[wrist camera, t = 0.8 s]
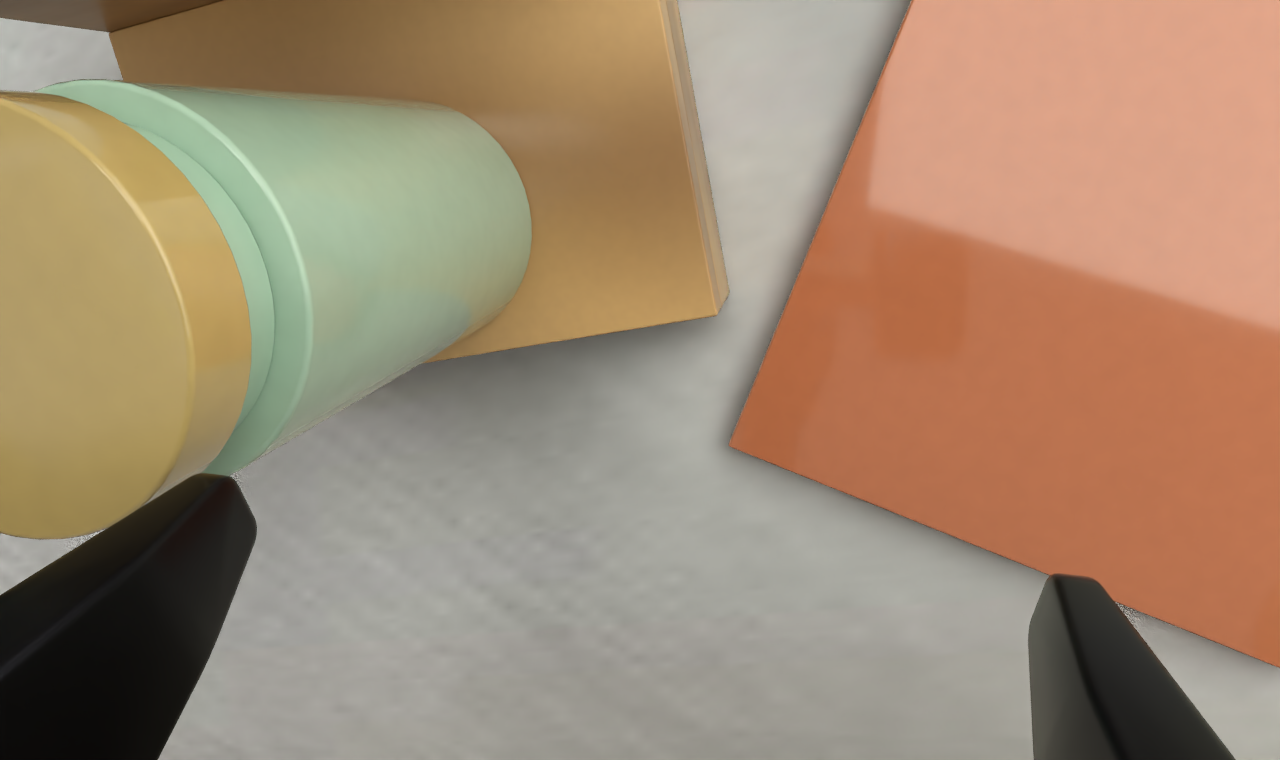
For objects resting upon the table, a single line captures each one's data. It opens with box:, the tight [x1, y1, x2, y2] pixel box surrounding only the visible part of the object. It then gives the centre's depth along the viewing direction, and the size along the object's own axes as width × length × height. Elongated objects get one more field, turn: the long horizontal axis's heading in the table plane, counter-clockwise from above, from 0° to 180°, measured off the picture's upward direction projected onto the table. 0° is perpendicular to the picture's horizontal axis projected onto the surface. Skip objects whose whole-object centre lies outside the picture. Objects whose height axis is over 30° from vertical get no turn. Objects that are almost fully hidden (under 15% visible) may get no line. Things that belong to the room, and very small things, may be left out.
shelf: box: [0, 0, 729, 364], centre depth 20 cm, size 10×14×9 cm
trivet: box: [729, 0, 1280, 668], centre depth 22 cm, size 16×16×1 cm
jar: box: [0, 79, 532, 539], centre depth 17 cm, size 6×6×12 cm
